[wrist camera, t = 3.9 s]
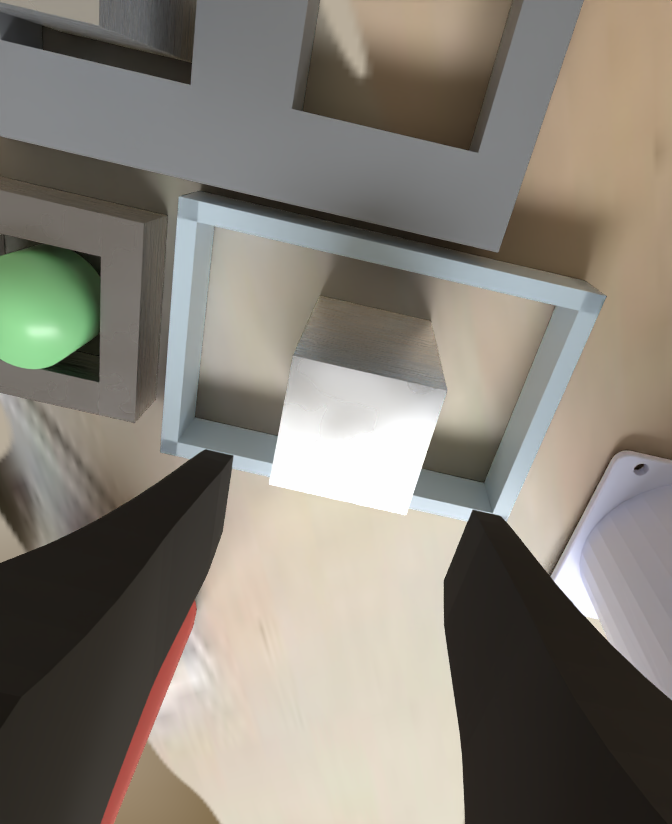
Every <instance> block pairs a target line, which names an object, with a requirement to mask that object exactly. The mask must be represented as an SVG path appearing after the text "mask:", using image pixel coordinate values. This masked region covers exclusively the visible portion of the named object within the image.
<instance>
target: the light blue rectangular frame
mask: <svg viewBox="0 0 672 824" xmlns="http://www.w3.org/2000/svg"><path fill="white" fill-rule="evenodd" d="M214 226H216V227H221V228H225V229H229V230H234V231H238V232H242V233H246V234H251V235H255V236H259V237H264V238H268V239H272V240H277V241H281V242H285V243H289V244H294V245H298V246H302V247H307V248H311V249H315V250H320V251H324V252H328V253H332V254H337V255H341V256H345V257H350V258H354V259H358V260H363V261H367V262H371V263H375V264H380V265H384V266H388V267H393V268H397V269H401V270H406V271H410V272H414V273H418V274H423V275H427V276H431V277H436V278H440V279H444V280H449V281H453V282H457V283H461V284H466V285H470V286H474V287H479V288H483V289H487V290H492V291H496V292H500V293H504V294H509V295H513V296H517V297H522V298H526V299H530V300H535V301H539V302H543V303H547V304H552V305H556V306H555V309H554V311H553V314H552V316H551V319H550V321H549V324H548V326H547V329H546V331H545V334H544V336H543V339H542V341H541V344H540V346H539V349H538V351H537V354H536V356H535V358H534V361H533V363H532V366H531V368H530V371H529V373H528V376H527V378H526V381H525V383H524V386H523V388H522V391H521V393H520V396H519V398H518V401H517V403H516V405H515V408H514V410H513V413H512V415H511V418H510V420H509V423H508V425H507V428H506V430H505V433H504V435H503V438H502V440H501V443H500V445H499V448H498V450H497V453H496V455H495V457H494V460H493V462H492V465H491V467H490V470H489V472H488V475H487V477H486V480H485V482H484V483H483V482H478V481H474V480H469V479H465V478H460V477H456V476H452V475H447V474H443V473H438V472H434V471H430V470H425V469H421V471H420V474H419V477H418V480H417V483H416V486H415V489H414V492H413V495H412V498H411V501H410V504H409V507H408V508H409V509H414V510H418V511H423V512H427V513H432V514H436V515H441V516H445V517H449V518H454V519H458V520H463V521H467V522H468V520H469V517H470V515H471V512H472V510H477V511H482V512H486V513H491V514H495V515H499V516H501V517H502V518H503V519H504V520H505V521H506V522H507V519H508V517H509V515H510V513H511V510H512V508H513V506H514V504H515V501H516V499H517V497H518V495H519V492H520V490H521V488H522V486H523V483H524V481H525V479H526V477H527V474H528V472H529V470H530V468H531V465H532V463H533V461H534V459H535V456H536V454H537V452H538V450H539V447H540V445H541V443H542V441H543V438H544V436H545V434H546V432H547V429H548V427H549V425H550V423H551V420H552V418H553V416H554V414H555V411H556V409H557V407H558V405H559V402H560V400H561V398H562V396H563V393H564V391H565V389H566V387H567V384H568V382H569V380H570V378H571V375H572V373H573V371H574V369H575V366H576V364H577V362H578V360H579V357H580V355H581V353H582V351H583V348H584V346H585V344H586V342H587V339H588V337H589V335H590V333H591V330H592V328H593V326H594V324H595V321H596V319H597V317H598V315H599V312H600V310H601V308H602V306H603V303H604V301H605V299H606V297H607V296H606V295H604V294H603V293H602V292H600V291H599V290H597V289H596V288H595V287H593V286H592V285H590V284H589V283H588V282H586V281H584V280H580V279H575V278H571V277H567V276H563V275H558V274H554V273H550V272H545V271H541V270H537V269H533V268H528V267H524V266H520V265H515V264H511V263H507V262H503V261H498V260H494V259H490V258H485V257H481V256H477V255H473V254H468V253H464V252H460V251H455V250H451V249H447V248H443V247H438V246H434V245H430V244H425V243H421V242H417V241H413V240H408V239H404V238H400V237H396V236H391V235H387V234H383V233H378V232H374V231H370V230H366V229H361V228H357V227H353V226H348V225H344V224H340V223H336V222H331V221H327V220H323V219H318V218H314V217H310V216H306V215H301V214H297V213H293V212H288V211H284V210H280V209H276V208H271V207H267V206H263V205H258V204H254V203H250V202H246V201H241V200H237V199H233V198H228V197H224V196H220V195H216V194H211V193H207V192H203V191H197V192H193V193H190V194H186V195H182V196H179V200H178V214H177V228H176V242H175V255H174V269H173V283H172V297H171V311H170V324H169V338H168V352H167V366H166V380H165V393H164V407H163V421H162V435H161V449H160V452H161V453H165V454H170V455H174V456H179V457H183V458H188V459H191V458H193V457H194V456H195V455H197V454H198V453H200V452H201V451H203V450H205V449H207V450H211V451H216V452H220V453H225V454H229V455H234V457H233V464H232V469H236V470H241V471H245V472H250V473H254V474H259V475H263V476H267V477H270V476H271V471H272V465H273V460H274V455H275V449H276V444H277V438H278V436H275V435H271V434H266V433H262V432H257V431H253V430H249V429H244V428H240V427H235V426H231V425H227V424H222V423H218V422H213V421H209V420H204V419H200V418H196V417H195V411H196V401H197V391H198V382H199V372H200V362H201V353H202V343H203V333H204V323H205V314H206V304H207V294H208V285H209V275H210V265H211V256H212V246H213V236H214Z"/></svg>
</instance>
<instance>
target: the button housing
mask: <svg viewBox="0 0 672 824" xmlns="http://www.w3.org/2000/svg"><path fill="white" fill-rule="evenodd" d="M167 218H168V215H164V214H160V213H155V212H151V211H147V210H142V209H138V208H134V207H129V206H125V205H121V204H117V203H112V202H108V201H104V200H99V199H95V198H91V197H86V196H82V195H78V194H74V193H69V192H65V191H61V190H56V189H52V188H48V187H43V186H39V185H35V184H31V183H26V182H22V181H18V180H13V179H9V178H5V177H0V256H2V255H5V247H4V234H5V235H9V236H14V237H18V238H22V239H27V240H31V241H35V242H40V243H44V244H48V245H53V246H57V247H61V248H66V249H70V250H74V251H79V252H83V253H87V254H92V255H96V256H100V257H101V297H100V356H96V355H92V354H88V353H83V352H79V351H74V352H73V353H71V354H70V355H68V356H67V357H65V358H64V359H62V360H61V361H59V362H58V363H56V364H54V365H52V366H49V367H46V368H42V369H26V368H21V367H17V366H14V365H11V364H9V363H7V362H5V361H3V360H1V359H0V393H4V394H9V395H13V396H18V397H22V398H26V399H31V400H35V401H40V402H44V403H49V404H53V405H57V406H62V407H66V408H71V409H75V410H79V411H84V412H88V413H93V414H97V415H102V416H106V417H110V418H115V419H119V420H124V421H128V422H133V423H135V422H136V421H137V420H138V419H139V418H140V416H141V415H142V414H143V413H144V412H145V411H146V410H147V409H148V408H149V406H150V405H151V404H152V403H153V402H154V401H155V400H156V388H157V373H158V357H159V342H160V326H161V311H162V295H163V280H164V264H165V249H166V234H167Z"/></svg>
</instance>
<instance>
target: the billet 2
mask: <svg viewBox="0 0 672 824" xmlns="http://www.w3.org/2000/svg"><path fill="white" fill-rule="evenodd" d="M446 393H447V387H446V383H445V379H444V374H443V370H442V366H441V362H440V357H439V353H438V349H437V344H436V340H435V336H434V331H433V327H432V323H431V321H428V320H424V319H420V318H415V317H411V316H407V315H402V314H398V313H394V312H389V311H385V310H381V309H376V308H372V307H368V306H363V305H359V304H355V303H350V302H346V301H342V300H337V299H333V298H329V297H324V296H319V298H318V300H317V303H316V305H315V307H314V309H313V312H312V314H311V316H310V318H309V321H308V323H307V325H306V327H305V329H304V332H303V334H302V336H301V338H300V341H299V343H298V345H297V347H296V350H295V352H294V354H293V358H292V363H291V368H290V374H289V379H288V385H287V390H286V395H285V401H284V406H283V412H282V417H281V422H280V428H279V433H278V438H277V444H276V449H275V455H274V460H273V465H272V471H271V476H270V482H269V484H270V485H275V486H279V487H284V488H288V489H293V490H297V491H301V492H306V493H310V494H315V495H319V496H324V497H328V498H333V499H337V500H341V501H346V502H350V503H355V504H359V505H364V506H368V507H373V508H377V509H381V510H386V511H390V512H395V513H399V514H404V515H406V513H407V510H408V507H409V504H410V501H411V498H412V495H413V492H414V489H415V486H416V483H417V480H418V477H419V474H420V471H421V468H422V465H423V462H424V459H425V456H426V453H427V450H428V447H429V444H430V441H431V438H432V435H433V432H434V429H435V426H436V423H437V420H438V417H439V414H440V411H441V408H442V405H443V402H444V399H445V396H446Z"/></svg>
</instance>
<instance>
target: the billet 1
mask: <svg viewBox="0 0 672 824" xmlns="http://www.w3.org/2000/svg"><path fill="white" fill-rule="evenodd" d="M196 6H197V0H0V11H1V12H4V13H7V14H10V15H13V16H16V17H19V18H22V19H25V20H28V21H31V22H34V23H37V24H40V25H43V26H46V27H49V28H52V29H55V30H58V31H61V32H65V33H69V34H73V35H77V36H81V37H86V38H90V39H94V40H98V41H103V42H107V43H111V44H115V45H119V46H124V47H128V48H132V49H136V50H140V51H145V52H149V53H153V54H157V55H162V56H166V57H170V58H174V59H178V60H183V61H187V62H191V63H192V59H193V46H194V32H195V19H196Z"/></svg>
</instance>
